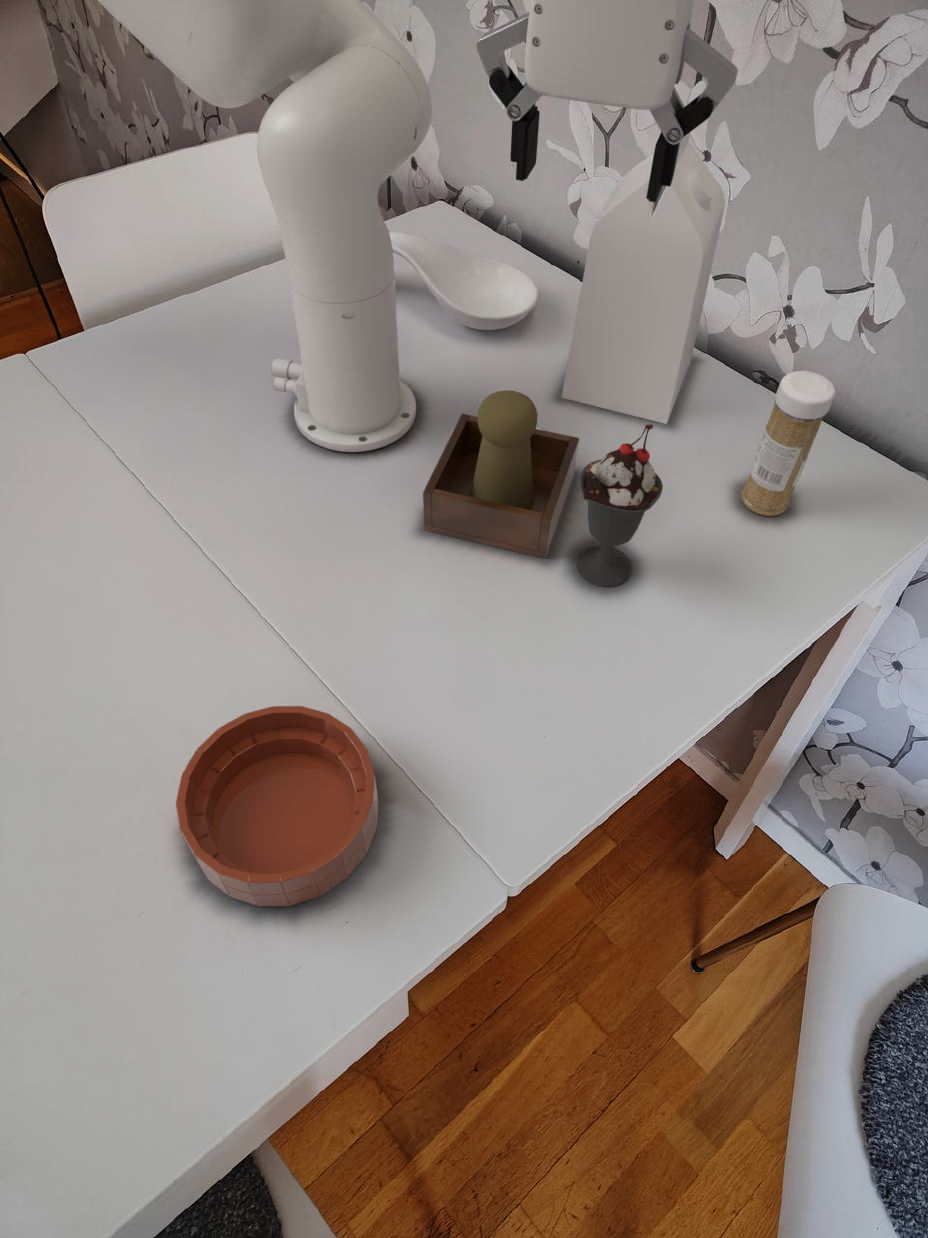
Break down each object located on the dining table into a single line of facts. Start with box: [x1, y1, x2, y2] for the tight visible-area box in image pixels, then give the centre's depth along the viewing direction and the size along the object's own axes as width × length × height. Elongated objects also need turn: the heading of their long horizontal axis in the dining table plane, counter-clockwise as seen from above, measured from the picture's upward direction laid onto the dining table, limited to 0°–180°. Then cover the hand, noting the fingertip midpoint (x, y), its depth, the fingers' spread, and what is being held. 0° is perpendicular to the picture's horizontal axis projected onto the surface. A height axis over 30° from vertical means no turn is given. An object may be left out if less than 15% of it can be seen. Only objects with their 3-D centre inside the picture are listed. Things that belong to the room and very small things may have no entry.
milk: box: [561, 132, 726, 425], centre depth 85 cm, size 12×12×26 cm
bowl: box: [175, 705, 379, 907], centre depth 61 cm, size 13×13×4 cm
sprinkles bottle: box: [741, 370, 836, 517], centre depth 78 cm, size 5×5×13 cm
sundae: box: [575, 424, 664, 587], centre depth 72 cm, size 7×7×15 cm
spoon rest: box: [389, 231, 540, 331], centre depth 101 cm, size 24×12×7 cm, turn 69°
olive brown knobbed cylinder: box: [471, 389, 539, 510], centre depth 78 cm, size 6×6×11 cm
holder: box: [422, 413, 580, 559], centre depth 81 cm, size 12×12×5 cm
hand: (589, 182), depth 63 cm, fingers open, 9 cm apart
